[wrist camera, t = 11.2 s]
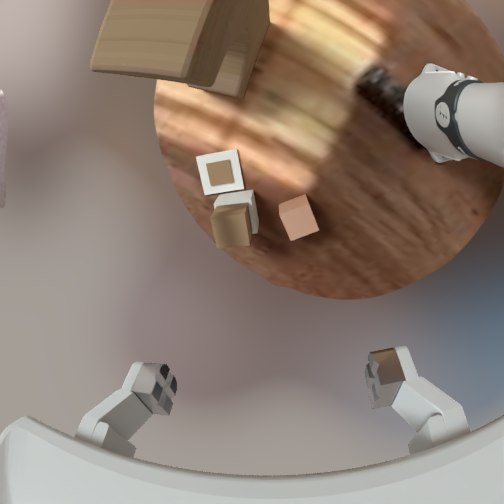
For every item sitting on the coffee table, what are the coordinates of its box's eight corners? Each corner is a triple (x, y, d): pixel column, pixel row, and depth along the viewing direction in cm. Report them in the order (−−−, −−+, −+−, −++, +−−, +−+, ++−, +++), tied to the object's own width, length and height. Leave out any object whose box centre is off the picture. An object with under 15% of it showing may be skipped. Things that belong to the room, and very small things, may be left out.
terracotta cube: (305, 193, 46) (308, 203, 42) (315, 218, 48) (319, 230, 44) (278, 204, 47) (279, 214, 43) (289, 228, 50) (290, 240, 45)
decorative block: (243, 99, 39) (186, 80, 13) (199, 89, 38) (85, 71, 12) (270, 21, 31) (262, -90, 5) (226, 12, 31) (160, -89, 5)
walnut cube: (248, 202, 42) (244, 214, 38) (252, 231, 45) (249, 245, 40) (216, 205, 43) (210, 218, 39) (222, 234, 46) (216, 248, 41)
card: (236, 148, 43) (236, 149, 42) (244, 188, 46) (243, 189, 46) (196, 156, 44) (195, 157, 43) (205, 194, 47) (204, 195, 47)
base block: (253, 189, 46) (250, 198, 42) (258, 221, 49) (257, 233, 45) (219, 194, 47) (213, 204, 43) (226, 225, 50) (221, 237, 46)
